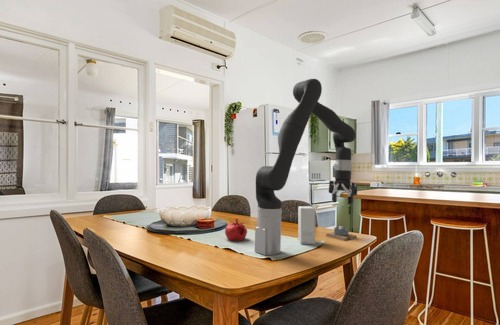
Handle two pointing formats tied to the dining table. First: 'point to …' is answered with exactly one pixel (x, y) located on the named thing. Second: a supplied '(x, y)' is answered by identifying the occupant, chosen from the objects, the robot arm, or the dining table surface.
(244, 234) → the pomegranate
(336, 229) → the steel ring
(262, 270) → the dining table surface
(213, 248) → the dining table surface
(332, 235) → the piston stand
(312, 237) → the skincare box
